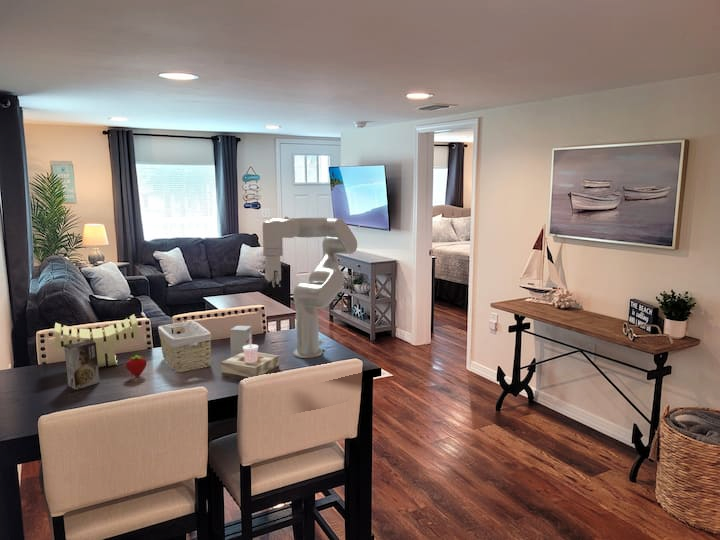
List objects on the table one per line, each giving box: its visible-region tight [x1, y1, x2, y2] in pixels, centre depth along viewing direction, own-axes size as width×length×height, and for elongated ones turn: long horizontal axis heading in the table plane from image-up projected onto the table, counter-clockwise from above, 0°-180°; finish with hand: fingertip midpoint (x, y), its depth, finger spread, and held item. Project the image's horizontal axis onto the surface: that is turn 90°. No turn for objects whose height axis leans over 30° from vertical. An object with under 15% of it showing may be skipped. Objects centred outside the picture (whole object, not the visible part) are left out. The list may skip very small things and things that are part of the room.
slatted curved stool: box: [53, 313, 140, 368], centre depth 220 cm, size 30×16×18 cm, turn 118°
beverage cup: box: [243, 334, 259, 363], centre depth 210 cm, size 6×6×14 cm
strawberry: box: [125, 354, 148, 378], centre depth 205 cm, size 6×8×10 cm
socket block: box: [220, 352, 280, 380], centre depth 211 cm, size 16×16×6 cm
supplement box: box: [229, 325, 253, 358], centre depth 230 cm, size 7×7×13 cm
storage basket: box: [157, 320, 212, 373], centre depth 221 cm, size 24×16×15 cm
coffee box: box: [63, 339, 101, 390], centre depth 197 cm, size 9×6×16 cm
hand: (274, 294), depth 212 cm, fingers open, 9 cm apart
